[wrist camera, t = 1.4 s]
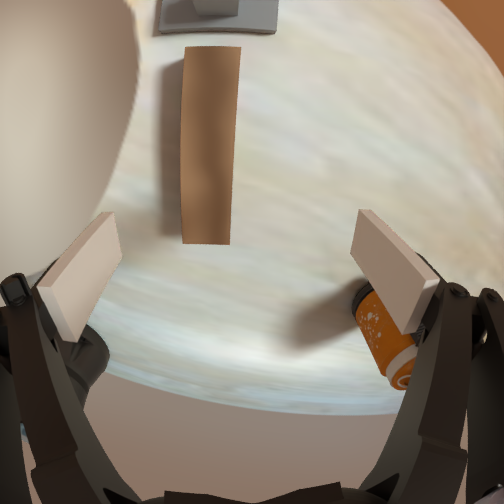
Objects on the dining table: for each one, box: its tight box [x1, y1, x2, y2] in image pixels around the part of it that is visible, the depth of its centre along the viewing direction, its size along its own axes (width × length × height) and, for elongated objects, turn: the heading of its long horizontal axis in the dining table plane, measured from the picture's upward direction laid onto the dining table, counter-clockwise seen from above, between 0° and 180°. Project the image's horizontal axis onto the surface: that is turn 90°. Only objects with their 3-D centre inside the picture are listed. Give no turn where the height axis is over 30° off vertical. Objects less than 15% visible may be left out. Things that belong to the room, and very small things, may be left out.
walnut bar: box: [180, 46, 241, 245], centre depth 26 cm, size 5×20×5 cm, turn 176°
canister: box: [352, 284, 425, 390], centre depth 32 cm, size 9×11×20 cm
